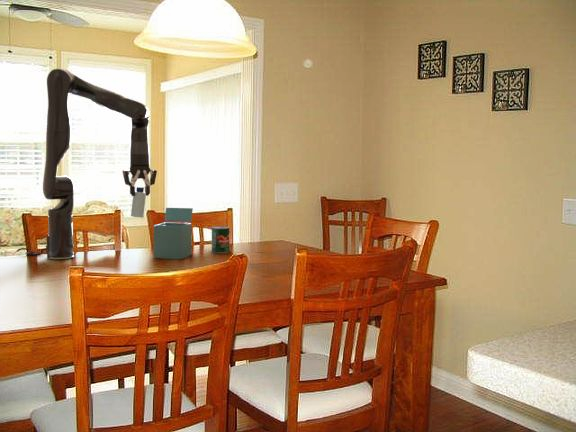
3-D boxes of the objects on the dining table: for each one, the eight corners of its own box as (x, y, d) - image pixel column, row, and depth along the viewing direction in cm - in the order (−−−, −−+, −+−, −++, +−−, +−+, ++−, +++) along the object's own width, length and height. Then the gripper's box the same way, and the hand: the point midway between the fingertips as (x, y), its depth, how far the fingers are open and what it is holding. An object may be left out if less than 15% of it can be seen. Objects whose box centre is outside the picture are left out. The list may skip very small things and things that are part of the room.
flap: (166, 207, 260) (166, 207, 260) (164, 220, 258) (164, 221, 259) (192, 208, 258) (192, 208, 258) (191, 221, 256) (191, 221, 257)
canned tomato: (223, 253, 261) (223, 228, 260) (208, 252, 264) (207, 227, 263) (232, 251, 268) (232, 226, 267) (217, 250, 271) (217, 225, 270)
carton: (154, 258, 248) (153, 225, 247) (164, 253, 260) (164, 222, 259) (181, 259, 246) (181, 226, 245) (191, 254, 258) (191, 223, 257)
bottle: (128, 216, 242) (131, 186, 241) (133, 215, 247) (137, 186, 246) (140, 217, 241) (143, 187, 240) (145, 217, 246) (148, 187, 245)
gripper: (125, 153, 234) (126, 196, 236) (160, 153, 242) (160, 195, 244) (118, 153, 240) (119, 195, 242) (152, 153, 249) (153, 194, 250)
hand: (140, 195), depth 243 cm, fingers closed on bottle, 5 cm apart
